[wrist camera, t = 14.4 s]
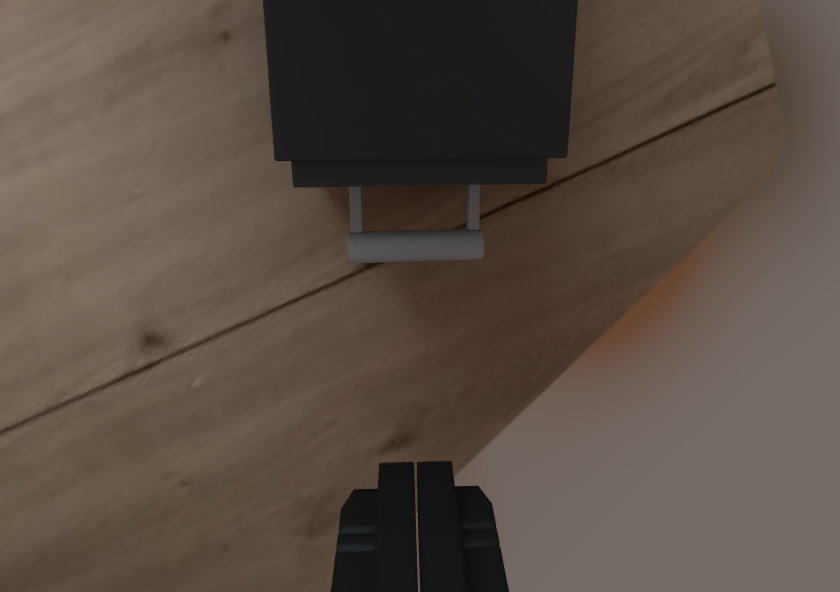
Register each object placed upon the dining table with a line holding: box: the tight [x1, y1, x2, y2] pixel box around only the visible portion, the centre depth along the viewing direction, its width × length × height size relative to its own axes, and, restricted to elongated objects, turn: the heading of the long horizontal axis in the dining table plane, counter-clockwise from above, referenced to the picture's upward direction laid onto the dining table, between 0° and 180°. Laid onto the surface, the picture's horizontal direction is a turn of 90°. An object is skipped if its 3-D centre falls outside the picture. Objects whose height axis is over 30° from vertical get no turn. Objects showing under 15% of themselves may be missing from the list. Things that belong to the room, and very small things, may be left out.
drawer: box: [291, 158, 547, 263], centre depth 29 cm, size 18×11×8 cm, turn 0°
